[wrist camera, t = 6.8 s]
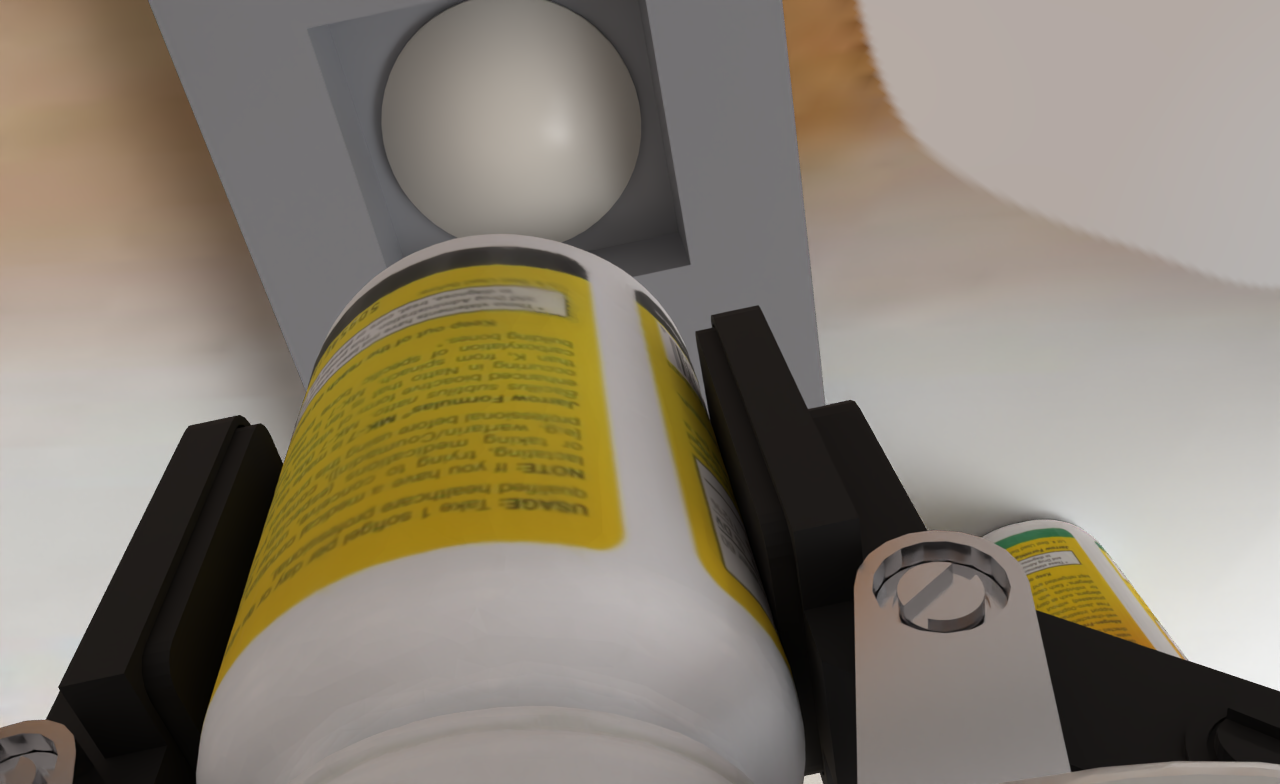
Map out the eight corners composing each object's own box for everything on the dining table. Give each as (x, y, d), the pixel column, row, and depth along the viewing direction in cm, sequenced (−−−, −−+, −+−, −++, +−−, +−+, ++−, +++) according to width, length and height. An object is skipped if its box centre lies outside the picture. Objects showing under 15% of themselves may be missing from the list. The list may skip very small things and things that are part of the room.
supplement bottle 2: (1135, 543, 33) (1341, 797, 25) (1033, 662, 35) (1191, 931, 27) (999, 490, 32) (1172, 743, 23) (901, 617, 34) (1027, 889, 25)
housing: (728, -257, 21) (754, -261, 19) (836, 665, 34) (859, 726, 32) (142, -133, 21) (98, -122, 19) (476, 741, 34) (473, 807, 32)
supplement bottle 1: (251, 453, 14) (-44, 1234, 6) (432, 147, 12) (310, 733, 5) (569, 595, 15) (624, 1334, 8) (767, 344, 14) (1067, 999, 6)
